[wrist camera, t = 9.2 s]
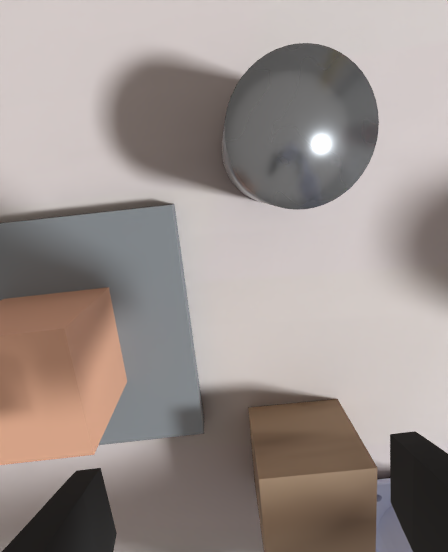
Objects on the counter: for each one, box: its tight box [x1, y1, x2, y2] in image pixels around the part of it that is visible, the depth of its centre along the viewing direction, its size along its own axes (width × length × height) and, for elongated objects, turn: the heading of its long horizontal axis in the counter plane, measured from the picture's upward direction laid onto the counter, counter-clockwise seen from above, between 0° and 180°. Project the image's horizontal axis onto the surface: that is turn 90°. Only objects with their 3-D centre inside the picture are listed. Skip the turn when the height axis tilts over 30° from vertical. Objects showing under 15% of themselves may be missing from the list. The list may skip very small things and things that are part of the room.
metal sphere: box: [222, 43, 379, 209], centre depth 14 cm, size 5×5×5 cm
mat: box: [0, 204, 204, 445], centre depth 17 cm, size 12×12×1 cm
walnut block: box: [248, 399, 377, 552], centre depth 18 cm, size 5×5×5 cm
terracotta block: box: [0, 287, 127, 465], centre depth 15 cm, size 5×5×5 cm
